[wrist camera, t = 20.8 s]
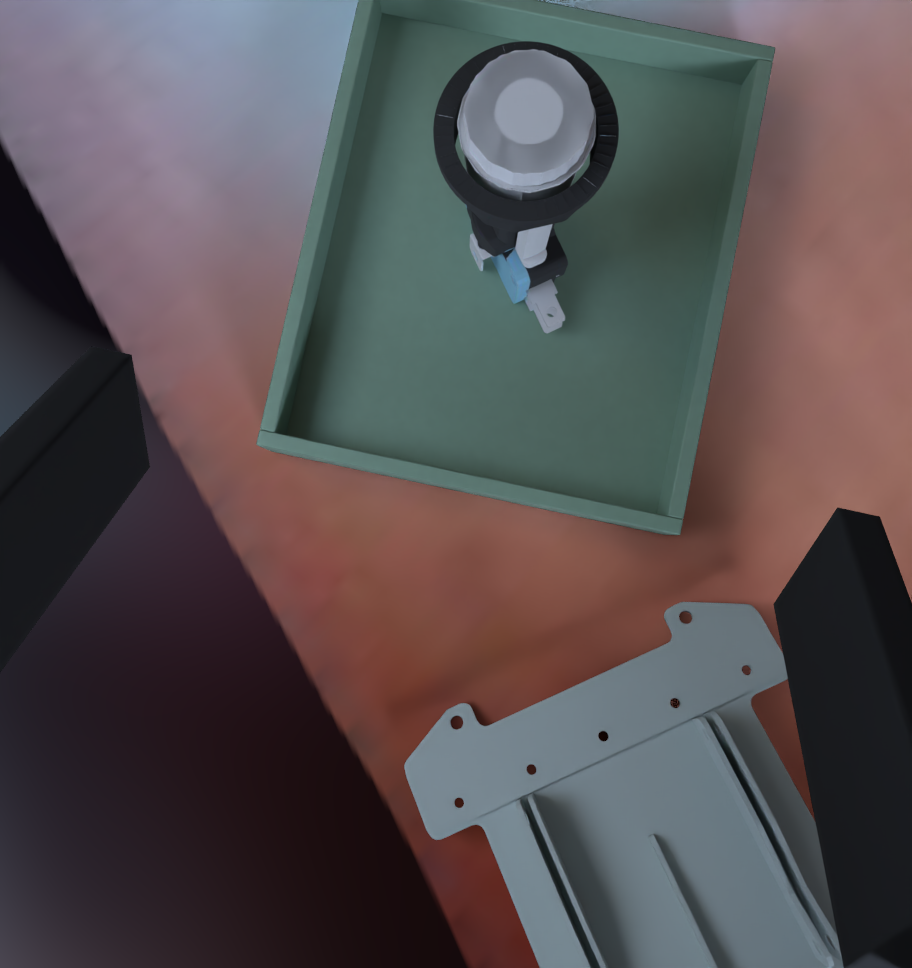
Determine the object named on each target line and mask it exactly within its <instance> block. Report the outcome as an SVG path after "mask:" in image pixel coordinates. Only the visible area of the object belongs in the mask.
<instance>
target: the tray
mask: <svg viewBox="0 0 912 968" xmlns="http://www.w3.org/2000/svg"><path fill="white" fill-rule="evenodd" d="M519 41H532V42H541V43H546V44H551V45H554V46H557V47H560V48H562V49H565V50H567V51H569V52H571V53H573V54H575V55H576V56H578V57H579V58H581V59H582V60H583V61H585V62H586V63H587V64H588V65H589V66H591V67H592V68H593V69H594V71H595V72H596V73H597V74H598V75H599V76H600V78H601V79H602V80H603V82H604V83H605V85H606V86H607V88H608V90H609V92H610V94H611V96H612V98H613V101H614V104H615V107H616V111H617V116H618V124H619V139H618V147H617V151H616V155H615V158H614V161H613V164H612V167H611V169H610V171H609V173H608V175H607V178H606V179H605V181H604V183H603V184H602V186H601V187H600V189H599V190H598V191H597V192H596V194H595V195H594V196H593V197H592V198H591V199H590V200H589V201H588V202H587V203H586V204H584V205H583V206H582V207H581V208H579V209H578V210H577V211H576V212H575V213H573V214H572V215H571V216H570V217H569V218H568V219H567V220H565V221H563V222H560V223H555V225H554V230H555V233H556V236H557V238H558V240H559V242H560V244H561V246H562V248H563V250H564V252H565V255H566V257H567V260H568V265H567V268H566V271H565V273H564V275H562V276H560V277H558V278H555V281H554V285H555V287H556V290H557V292H558V293H556V294H555V296H556V299H557V301H558V303H559V305H560V307H561V309H562V311H563V313H564V315H565V320H564V321H563V322H562V327H560V328H558V329H556V330H554V331H552V332H549V333H544V331H543V329H542V327H541V325H540V322H539V320H538V318H537V316H536V314H535V312H534V310H532V311H530V310H529V308H528V306H527V304H526V302H525V300H522V301H520V302H518V303H515V304H514V303H513V302H512V300H511V298H510V296H509V294H508V292H507V290H506V288H505V286H504V284H503V282H502V280H501V278H500V275H499V273H498V271H497V269H496V267H495V265H494V263H493V261H492V259H491V257H489V258H486V259H484V260H483V271H480V270H479V268H478V266H477V263H476V261H475V259H474V257H473V255H472V253H471V250H470V235H471V234H473V230H472V226H471V219H470V217H469V215H468V212H467V208H466V205H465V204H464V203H463V202H462V201H461V200H460V199H459V198H458V197H457V196H456V195H455V193H454V192H453V191H452V190H451V188H450V187H449V185H448V184H447V182H446V181H445V179H444V177H443V175H442V173H441V171H440V168H439V165H438V163H437V159H436V155H435V148H434V139H433V126H434V117H435V112H436V108H437V105H438V101H439V99H440V97H441V94H442V92H443V90H444V88H445V87H446V85H447V83H448V82H449V81H450V79H451V78H452V76H453V75H454V74H455V73H456V72H457V71H458V70H459V69H460V68H461V67H462V66H463V65H464V64H465V63H466V62H467V61H469V60H470V59H472V58H473V57H474V56H476V55H478V54H480V53H481V52H483V51H485V50H487V49H490V48H492V47H495V46H498V45H501V44H506V43H510V42H519ZM774 53H775V47H771V46H766V45H761V44H756V43H751V42H746V41H741V40H736V39H731V38H726V37H721V36H716V35H710V34H705V33H700V32H695V31H690V30H685V29H680V28H675V27H670V26H665V25H660V24H655V23H650V22H645V21H640V20H634V19H629V18H624V17H619V16H614V15H609V14H604V13H599V12H594V11H589V10H584V9H579V8H574V7H569V6H564V5H559V4H553V3H548V2H543V1H538V0H358V5H357V9H356V13H355V18H354V22H353V26H352V31H351V35H350V39H349V44H348V48H347V53H346V57H345V61H344V66H343V70H342V74H341V79H340V83H339V87H338V92H337V96H336V100H335V105H334V109H333V113H332V118H331V122H330V126H329V131H328V135H327V140H326V144H325V148H324V153H323V157H322V161H321V166H320V170H319V174H318V179H317V183H316V187H315V192H314V196H313V200H312V205H311V209H310V213H309V218H308V222H307V227H306V231H305V235H304V240H303V244H302V248H301V253H300V257H299V261H298V266H297V270H296V274H295V279H294V283H293V287H292V292H291V296H290V300H289V305H288V309H287V314H286V318H285V322H284V327H283V331H282V335H281V340H280V344H279V348H278V353H277V357H276V361H275V366H274V370H273V374H272V379H271V383H270V387H269V392H268V396H267V401H266V405H265V409H264V414H263V418H262V422H261V427H260V429H261V430H260V431H259V435H258V439H257V443H256V444H257V445H258V446H260V447H263V448H265V449H267V450H270V451H272V452H277V453H282V454H287V455H291V456H296V457H301V458H305V459H310V460H315V461H319V462H324V463H329V464H334V465H338V466H343V467H348V468H352V469H357V470H362V471H367V472H371V473H376V474H381V475H385V476H390V477H395V478H399V479H404V480H409V481H414V482H418V483H423V484H428V485H432V486H437V487H442V488H446V489H451V490H456V491H461V492H465V493H470V494H475V495H479V496H484V497H489V498H493V499H498V500H503V501H508V502H512V503H517V504H522V505H526V506H531V507H536V508H541V509H545V510H550V511H555V512H559V513H564V514H569V515H573V516H578V517H583V518H588V519H592V520H597V521H602V522H606V523H611V524H616V525H620V526H625V527H630V528H635V529H639V530H644V531H649V532H653V533H658V534H663V535H680V533H681V528H682V523H683V520H682V519H683V518H684V513H685V508H686V502H687V497H688V492H689V487H690V482H691V477H692V472H693V467H694V462H695V457H696V451H697V446H698V441H699V436H700V431H701V426H702V421H703V416H704V411H705V405H706V400H707V395H708V390H709V385H710V380H711V375H712V370H713V365H714V360H715V354H716V349H717V344H718V339H719V334H720V329H721V324H722V319H723V314H724V308H725V303H726V298H727V293H728V288H729V283H730V278H731V273H732V268H733V262H734V257H735V252H736V247H737V242H738V237H739V232H740V227H741V222H742V217H743V211H744V206H745V201H746V196H747V191H748V186H749V181H750V176H751V171H752V165H753V160H754V155H755V150H756V145H757V140H758V135H759V130H760V125H761V119H762V114H763V109H764V104H765V99H766V94H767V89H768V84H769V79H770V74H771V68H772V61H773V58H774ZM455 147H456V151H457V154H458V157H459V159H460V161H461V163H462V165H463V167H464V168H465V170H466V163H465V157H464V153H463V151H462V148H461V144H460V139H459V133H458V136H457V140H456V144H455ZM589 164H590V153H589V155H588V157H587V159H586V161H585V163H584V164H583V166H582V167H581V168H580V169H579V170H578V171H577V172H576V175H575V177H574V179H573V182H572V184H571V186H572V185H573V184H574V183H575V182H576V181H577V180H578V179H579V178H580V177H581V176H582V175H583V174H584V172H585V171H586V170H587V168H588V166H589ZM466 171H467V170H466ZM547 315H548V316H549V317H553V315H551V314H547Z"/></svg>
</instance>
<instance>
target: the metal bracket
mask: <svg viewBox="0 0 912 968" xmlns="http://www.w3.org/2000/svg"><path fill="white" fill-rule="evenodd" d="M684 611H686V612H689V613H690V614H691V616H692V621H691V623H689V624H684V623H682V622H681V621H680V619H679V614H680V613H681V612H684ZM664 618H665V621H666V623H667V625H668V627H669V629H670V631H671V634H672V638H671V641H670V642H669V643H667V644H665V645H663V646H661V647H658V648H656V649H654V650H652V651H650V652H648V653H645V654H643V655H641V656H639V657H637V658H634V659H632V660H630V661H628V662H626V663H624V664H621V665H619V666H617V667H615V668H613V669H611V670H608V671H606V672H604V673H602V674H600V675H598V676H595V677H593V678H591V679H589V680H587V681H584V682H582V683H580V684H578V685H576V686H574V687H571V688H569V689H567V690H565V691H563V692H561V693H558V694H556V695H554V696H552V697H550V698H548V699H545V700H543V701H541V702H539V703H537V704H534V705H532V706H530V707H528V708H526V709H524V710H521V711H519V712H517V713H515V714H513V715H511V716H508V717H506V718H504V719H502V720H500V721H498V722H495V723H493V724H491V725H489V726H482V725H480V724H479V722H478V721H477V719H476V717H475V714H474V712H473V710H472V708H471V706H470V705H468V704H465V703H461V704H458V705H456V706H454V707H452V708H450V709H448V710H447V711H446V712H445V713H444V714H443V716H442V717H441V718H440V719H439V721H438V722H437V723H436V724H435V726H434V727H433V728H432V729H431V731H430V732H429V733H428V734H427V736H426V737H425V738H424V739H423V741H422V742H421V743H420V744H419V746H418V747H417V748H416V749H415V751H414V752H413V753H412V754H411V756H410V757H409V758H408V759H407V761H406V762H405V766H404V768H405V772H406V777H407V780H408V782H409V785H410V787H411V790H412V793H413V795H414V798H415V801H416V803H417V806H418V809H419V811H420V814H421V817H422V819H423V822H424V824H425V827H426V830H427V832H428V833H429V835H430V836H431V837H432V838H433V839H435V840H440V839H443V838H445V837H447V836H450V835H452V834H454V833H456V832H458V831H460V830H463V829H465V828H467V827H469V826H471V825H476V824H477V825H479V826H482V828H483V829H484V831H485V833H486V835H487V838H488V840H489V843H490V845H491V848H492V850H493V853H494V855H495V858H496V860H497V863H498V865H499V868H500V870H501V873H502V875H503V878H504V880H505V882H506V885H507V887H508V890H509V892H510V895H511V897H512V900H513V902H514V905H515V907H516V910H517V912H518V915H519V917H520V920H521V922H522V925H523V927H524V930H525V932H526V934H527V937H528V939H529V942H530V944H531V947H532V949H533V952H534V954H535V957H536V959H537V962H538V964H539V967H540V968H844V967H843V962H842V957H841V952H840V946H839V941H838V936H837V931H836V926H835V920H834V915H833V910H832V905H831V900H830V895H829V889H828V884H827V879H826V874H825V869H824V863H823V858H822V853H821V848H820V843H819V837H818V832H817V827H816V823H815V821H814V819H813V817H812V816H811V814H810V812H809V810H808V808H807V807H806V805H805V803H804V801H803V799H802V797H801V796H800V794H799V792H798V790H797V788H796V787H795V785H794V783H793V781H792V779H791V777H790V776H789V774H788V772H787V770H786V768H785V767H784V765H783V763H782V761H781V759H780V757H779V756H778V754H777V752H776V750H775V748H774V747H773V745H772V743H771V741H770V739H769V738H768V736H767V734H766V732H765V730H764V728H763V727H762V725H761V723H760V721H759V719H758V718H757V716H756V714H755V712H754V710H753V708H752V706H751V698H752V697H753V696H754V695H755V694H757V693H759V692H761V691H763V690H765V689H768V688H770V687H772V686H774V685H776V684H778V683H780V682H783V681H785V680H786V679H788V677H787V671H786V666H785V661H784V656H783V653H782V652H781V650H780V648H779V646H778V645H777V643H776V641H775V640H774V638H773V636H772V634H771V633H770V631H769V629H768V627H767V626H766V624H765V622H764V621H763V619H762V617H761V615H760V614H759V612H758V611H757V610H756V609H755V608H754V607H753V606H751V605H749V604H730V603H699V602H681V603H678V604H676V605H674V606H672V607H670V608H668V609H667V610H666V611H665V614H664ZM744 665H746V666H749V667H750V669H751V673H750V674H749V675H745V674H743V672H742V667H743V666H744ZM672 698H676V699H678V700H679V702H680V705H679V707H678V708H673V707H672V706H671V704H670V701H671V699H672ZM454 716H460V717H461V718H462V719H463V723H464V724H463V726H462V728H460V729H458V730H455V729H453V728H452V726H451V719H452V718H453V717H454ZM601 731H605V732H607V734H608V740H606V741H604V742H603V741H601V740H600V739H599V737H598V735H599V733H600V732H601ZM529 764H533V765H535V767H536V773H535V774H533V775H530V774H528V772H527V769H526V768H527V766H528V765H529ZM459 797H460V798H462V799H463V800H464V805H463V807H462V808H458V807H456V806H455V799H456V798H459Z"/></svg>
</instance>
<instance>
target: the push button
mask: <svg viewBox="0 0 912 968" xmlns="http://www.w3.org/2000/svg"><path fill="white" fill-rule="evenodd" d="M458 133H459V139H460V144H461V148H462V151H463V153H464V157H465V163H466V170H467V171H466V170H465V168H464V167H463V165H462V163H461V161H460V159H459V157H458V154H457V151H456V147H455V144H456V140H457V136H458ZM433 139H434V148H435V155H436V159H437V163H438V165H439V168H440V171H441V173H442V175H443V177H444V179H445V181H446V182H447V184H448V185H449V187H450V188H451V190H452V191H453V192H454V193H455V195H456V196H457V197H458V198H459V199H460V200H461V201H462V202H463V203H464V204H465V205H466V208H467V212H468V215H469V217H470V219H471V226H472V230H473V234H471V235H470V250H471V253H472V255H473V257H474V259H475V261H476V263H477V266H478V268H479V270H480V271H483V260H484V259H486V258H489V257H491V259H492V261H493V263H494V265H495V267H496V269H497V271H498V273H499V275H500V278H501V280H502V282H503V284H504V286H505V288H506V290H507V292H508V294H509V296H510V298H511V300H512V302H513V303H514V304H515V303H518V302H520V301H522V300H525V302H526V304H527V306H528V308H529V310H530V311H532V310H534V312H535V314H536V316H537V318H538V320H539V322H540V325H541V327H542V329H543V331H544V333H549V332H552V331H554V330H556V329H558V328H560V327H562V322H563V321H564V320H565V315H564V313H563V311H562V309H561V307H560V305H559V303H558V301H557V299H556V296H555V294H556V293H558V292H557V290H556V287H555V285H554V281H555V278H558V277H560V276H562V275H564V273H565V271H566V268H567V265H568V260H567V257H566V255H565V252H564V250H563V248H562V246H561V244H560V242H559V240H558V238H557V236H556V233H555V230H554V225H555V223H560V222H563V221H565V220H567V219H568V218H569V217H570V216H571V215H572V214H573V213H575V212H576V211H577V210H578V209H579V208H581V207H582V206H583V205H584V204H586V203H587V202H588V201H589V200H590V199H591V198H592V197H593V196H594V195H595V194H596V192H597V191H598V190H599V189H600V187H601V186H602V184H603V183H604V181H605V179H606V178H607V175H608V173H609V171H610V169H611V167H612V164H613V161H614V158H615V155H616V151H617V147H618V139H619V124H618V116H617V111H616V107H615V104H614V101H613V98H612V96H611V94H610V92H609V90H608V88H607V86H606V85H605V83H604V82H603V80H602V79H601V78H600V76H599V75H598V74H597V73H596V72H595V71H594V69H593V68H592V67H591V66H589V65H588V64H587V63H586V62H585V61H583V60H582V59H581V58H579V57H578V56H576V55H575V54H573V53H571V52H569V51H567V50H565V49H562V48H560V47H557V46H554V45H551V44H546V43H541V42H532V41H519V42H510V43H506V44H501V45H498V46H495V47H492V48H490V49H487V50H485V51H483V52H481V53H480V54H478V55H476V56H474V57H473V58H472V59H470V60H469V61H467V62H466V63H465V64H464V65H463V66H462V67H461V68H460V69H459V70H458V71H457V72H456V73H455V74H454V75H453V76H452V78H451V79H450V81H449V82H448V83H447V85H446V87H445V88H444V90H443V92H442V94H441V97H440V99H439V101H438V105H437V108H436V112H435V117H434V126H433ZM589 153H590V164H589V166H588V168H587V170H586V171H585V172H584V174H583V175H582V176H581V177H580V178H579V179H578V180H577V181H576V182H575V183H574V184H573V185H572V186H571V184H572V182H573V179H574V177H575V175H576V172H577V171H578V170H579V169H580V168H581V167H582V166H583V164H584V163H585V161H586V159H587V157H588V155H589ZM547 314H551V315H553V317H549V316H548V315H547Z"/></svg>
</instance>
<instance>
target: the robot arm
mask: <svg viewBox="0 0 912 968" xmlns="http://www.w3.org/2000/svg"><path fill="white" fill-rule="evenodd" d="M149 467H150V466H149V460H148V453H147V447H146V441H145V435H144V429H143V422H142V416H141V410H140V404H139V398H138V392H137V385H136V379H135V373H134V367H133V361H132V355H130V354H125V353H121V352H115V351H111V350H107V349H102V348H97V347H93V346H91V347H90V348H89V349H88V350H87V351H86V352H85V353H84V354H83V355H82V356H81V357H80V358H79V359H78V360H77V361H76V362H75V363H74V364H73V365H72V366H71V367H70V368H69V369H68V370H67V371H66V372H65V373H64V374H63V375H62V376H61V377H60V378H59V379H58V380H57V381H56V382H55V383H54V384H53V385H52V386H51V387H50V388H49V389H48V390H47V391H46V392H45V393H44V394H43V395H42V396H41V397H40V398H39V399H38V400H37V401H36V402H35V403H34V404H33V405H32V406H31V407H30V408H29V409H28V410H27V411H26V412H25V413H24V414H23V415H22V416H21V417H20V418H19V419H18V420H17V421H16V422H15V423H14V424H13V425H12V426H11V427H10V428H9V429H8V430H7V431H6V432H5V433H4V434H3V435H2V436H1V437H0V672H1V671H2V669H3V668H4V667H5V665H6V664H7V662H8V661H9V660H10V658H11V657H12V656H13V654H14V653H15V652H16V650H17V649H18V647H19V646H20V645H21V643H22V642H23V641H24V639H25V638H26V636H27V635H28V634H29V632H30V631H31V630H32V628H33V627H34V625H35V624H36V623H37V621H38V620H39V619H40V617H41V616H42V614H43V613H44V612H45V610H46V609H47V608H48V606H49V605H50V603H51V602H52V601H53V599H54V598H55V596H56V595H57V594H58V592H59V591H60V590H61V588H62V587H63V586H64V584H65V583H66V581H67V580H68V579H69V577H70V576H71V575H72V573H73V572H74V570H75V569H76V567H77V566H78V565H79V564H80V562H81V561H82V559H83V558H84V557H85V555H86V554H87V553H88V551H89V550H90V548H91V547H92V546H93V544H94V543H95V542H96V540H97V539H98V537H99V536H100V535H101V533H102V532H103V530H104V529H105V528H106V526H107V525H108V524H109V522H110V521H111V519H112V518H113V517H114V515H115V514H116V513H117V511H118V510H119V509H120V507H121V506H122V504H123V503H124V502H125V500H126V499H127V498H128V496H129V495H130V493H131V492H132V491H133V489H134V488H135V487H136V485H137V484H138V482H139V481H140V480H141V478H142V477H143V475H144V474H145V473H146V471H147V470H148V469H149ZM774 609H775V614H776V620H777V625H778V630H779V635H780V640H781V646H782V651H783V656H784V661H785V666H786V671H787V677H788V682H789V687H790V692H791V697H792V703H793V708H794V713H795V718H796V723H797V729H798V734H799V739H800V744H801V749H802V754H803V760H804V765H805V770H806V775H807V780H808V786H809V791H810V796H811V801H812V806H813V812H814V817H815V822H816V827H817V832H818V837H819V843H820V848H821V853H822V858H823V863H824V869H825V874H826V879H827V884H828V889H829V895H830V900H831V905H832V910H833V915H834V920H835V926H836V931H837V936H838V941H839V946H840V952H841V957H842V962H843V967H844V968H912V603H911V600H910V597H909V595H908V592H907V589H906V586H905V584H904V581H903V578H902V576H901V573H900V570H899V567H898V565H897V562H896V559H895V557H894V554H893V551H892V548H891V546H890V543H889V540H888V538H887V535H886V532H885V529H884V527H883V524H882V521H881V519H880V517H879V516H874V515H869V514H865V513H860V512H855V511H851V510H846V509H842V508H837V509H836V511H835V512H834V514H833V515H832V517H831V518H830V520H829V521H828V523H827V524H826V526H825V527H824V529H823V530H822V532H821V533H820V535H819V536H818V538H817V539H816V541H815V542H814V544H813V545H812V547H811V548H810V550H809V551H808V553H807V554H806V556H805V558H804V559H803V561H802V562H801V564H800V565H799V567H798V568H797V570H796V571H795V573H794V574H793V576H792V577H791V579H790V580H789V582H788V583H787V585H786V586H785V588H784V589H783V591H782V592H781V594H780V595H779V597H778V598H777V600H776V601H775V603H774Z"/></svg>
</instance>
